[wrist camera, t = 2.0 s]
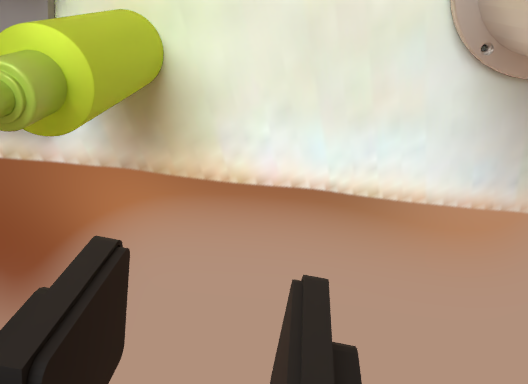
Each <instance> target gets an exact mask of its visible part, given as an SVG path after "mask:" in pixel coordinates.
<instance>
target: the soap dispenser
mask: <svg viewBox="0 0 528 384" xmlns="http://www.w3.org/2000/svg"><path fill="white" fill-rule="evenodd" d="M162 62H163V46H162V42H161V39H160V36H159V34H158V32H157V31H156V29H155V28H154V26H153V25H152V24H151V23H150V22H149V21H148V20H147V19H146V18H144V17H143V16H141V15H140V14H138V13H136V12H133V11H129V10H123V9H119V10H111V11H104V12H96V13H89V14H82V15H75V16H68V17H61V18H54V19H47V20H40V21H33V22H26V23H19V24H16V25H13V26H10V27H8V28H6V29H5V30H3V31H2V32H1V33H0V130H1V131H17V130H21V129H24V130H26V131H28V132H30V133H33V134H37V135H41V136H60V135H64V134H67V133H69V132H71V131H73V130H75V129H77V128H78V127H80V126H82V125H83V124H85V123H86V122H88V121H90V120H91V119H93V118H94V117H96V116H98V115H99V114H101V113H102V112H104V111H106V110H107V109H109V108H110V107H112V106H114V105H115V104H117V103H118V102H120V101H122V100H123V99H125V98H127V97H128V96H130V95H131V94H133V93H135V92H136V91H138V90H139V89H141V88H143V87H144V86H146V85H147V84H149V83H150V82H151V81H153V80H154V78H155V77H156V76H157V75H158V73H159V71H160V69H161V66H162Z"/></svg>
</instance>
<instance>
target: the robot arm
mask: <svg viewBox="0 0 528 384" xmlns="http://www.w3.org/2000/svg"><path fill="white" fill-rule="evenodd" d="M451 11H452V16H453V20H454V24H455V27H456V29H457V31H458V34H459V36H460V38H461V40H462V42H463V43H464V44H465V46H466V47H467V48H468V50H469V51H470V52H471V54H473V55H474V56H475V57H476V58H477V59H478V60H480V61H481V62H482V63H483V64H485V65H487V66H488V67H490V68H492V69H494V70H496V71H498V72H500V73H503V74H506V75H508V76H512V77H517V78H523V79H528V0H451ZM484 44H486V46H487V48H486V50H485V51H481V47H482V45H484ZM129 260H130V251H129V249H128V248H123V246H122V241H120V240H116V239H111V238H105V237H100V236H94V237H93V238H92V239H91V240H90V242H89V243H88V244H87V245H86V246H85V247H84V249H83V250H82V251H81V252H80V253H79V254H78V255H77V257H76V258H75V259H74V260H73V261H72V262H71V264H70V265H69V266H68V267H67V268H66V270H65V271H64V272H63V273H62V274H61V275H60V277H59V278H58V279H57V280H56V281H55V282H54V283H53V285H52V286H51V287H50V288H46V287H42V288H39V289H38V290H37V291H35V292H34V293H33V295H32V296H31V297H30V298H29V299H28V300H27V301H26V302H25V303H24V305H23V306H22V307H21V308H20V309H19V310H18V311H17V312H16V314H15V315H14V316H13V317H12V318H11V319H10V320H9V321H8V322H7V324H6V325H5V326H4V327H3V328H2V329H1V330H0V384H108V383H109V381H110V379H111V377H112V375H113V373H114V371H115V369H116V367H117V365H118V363H119V361H120V359H121V356H122V353H123V349H124V339H125V323H126V307H127V292H128V291H127V290H128V276H129ZM270 384H362V383H361V374H360V366H359V358H358V352H357V348H356V347H355V346H351V345H346V344H341V343H335V342H332V333H331V315H330V298H329V281H328V279H324V278H318V277H313V276H308V275H303V277H302V280H301V281H299V280H292V284H291V288H290V293H289V297H288V302H287V307H286V312H285V316H284V321H283V325H282V330H281V334H280V339H279V343H278V348H277V352H276V357H275V362H274V366H273V371H272V376H271V382H270Z"/></svg>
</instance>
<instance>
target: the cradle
mask: <svg viewBox="0 0 528 384" xmlns="http://www.w3.org/2000/svg"><path fill="white" fill-rule="evenodd" d="M47 19H54V0H0V33H1V32H2V31H3V30H5V29H6V28H8V27H10V26H13V25H16V24H19V23H26V22H33V21H40V20H47Z"/></svg>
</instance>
